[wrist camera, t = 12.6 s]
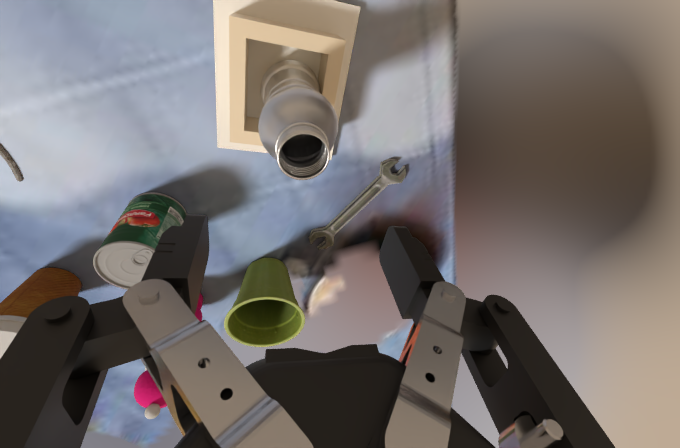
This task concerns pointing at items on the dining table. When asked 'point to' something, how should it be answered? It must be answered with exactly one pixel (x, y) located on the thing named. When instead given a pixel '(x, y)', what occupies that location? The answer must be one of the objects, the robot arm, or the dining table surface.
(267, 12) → the housing
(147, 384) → the pepper mill
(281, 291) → the plant pot
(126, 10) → the dining table surface
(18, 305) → the disposable coffee cup
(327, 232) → the wrench
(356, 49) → the dining table surface
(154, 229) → the canned tomato
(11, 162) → the pliers
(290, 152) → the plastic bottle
